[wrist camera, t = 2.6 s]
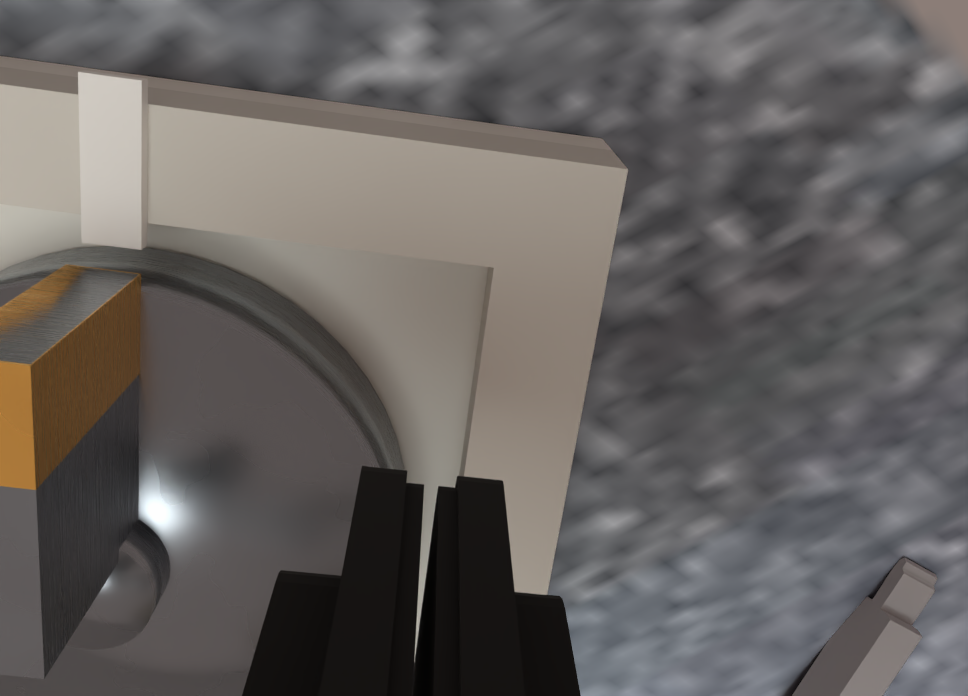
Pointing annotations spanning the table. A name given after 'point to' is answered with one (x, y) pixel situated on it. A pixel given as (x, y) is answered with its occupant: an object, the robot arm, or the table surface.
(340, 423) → the grey round piece
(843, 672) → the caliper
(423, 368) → the tray
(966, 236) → the table surface
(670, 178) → the table surface
